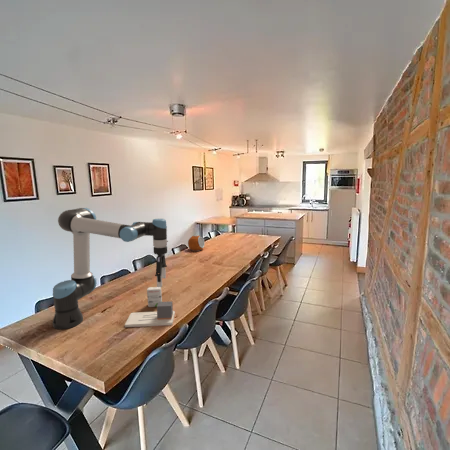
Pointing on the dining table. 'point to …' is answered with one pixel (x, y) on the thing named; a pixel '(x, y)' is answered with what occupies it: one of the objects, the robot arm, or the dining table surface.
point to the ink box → (154, 296)
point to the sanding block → (164, 310)
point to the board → (147, 319)
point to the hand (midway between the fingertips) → (161, 282)
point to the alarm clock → (196, 243)
